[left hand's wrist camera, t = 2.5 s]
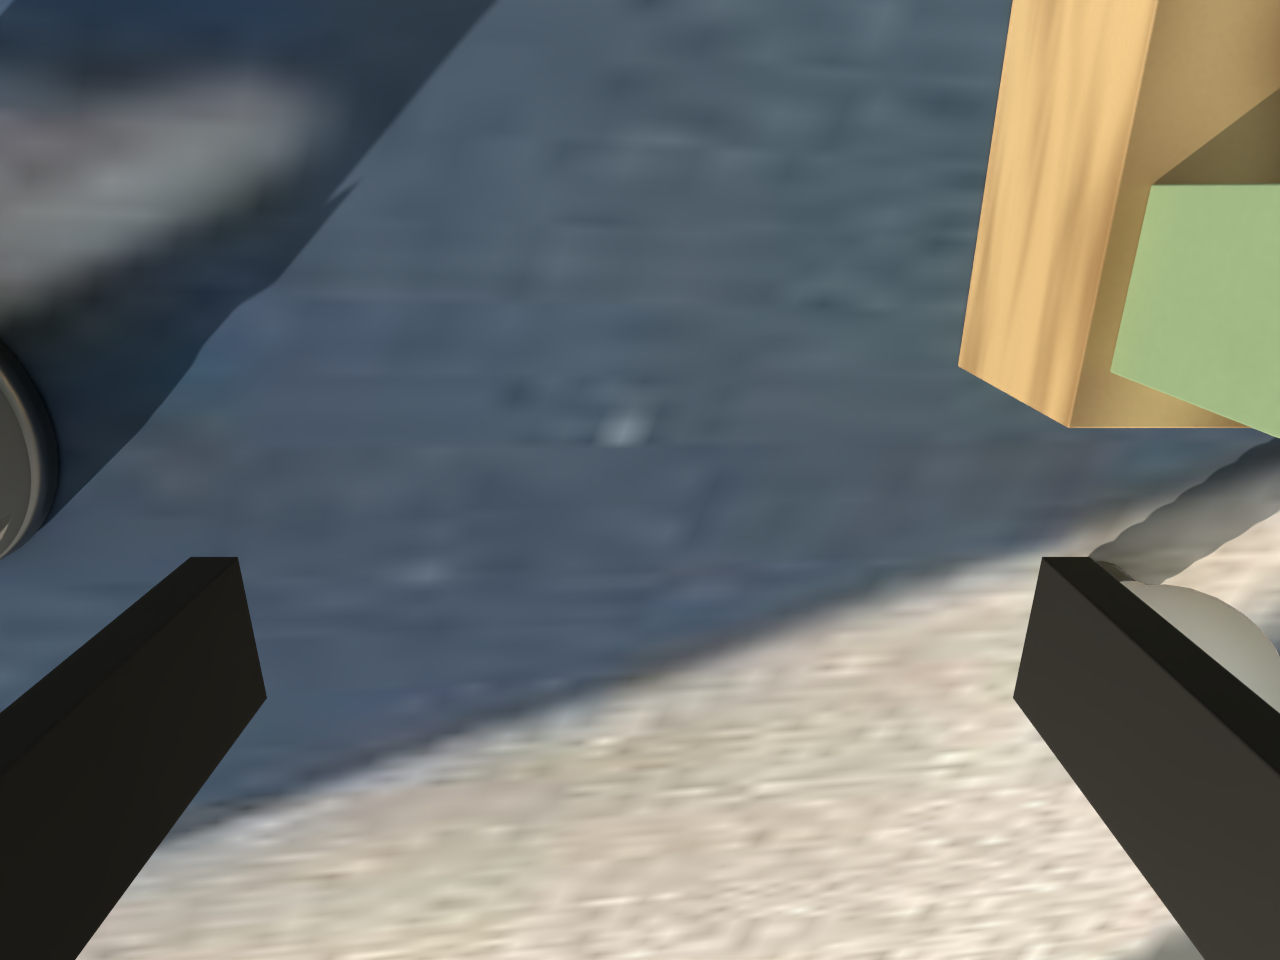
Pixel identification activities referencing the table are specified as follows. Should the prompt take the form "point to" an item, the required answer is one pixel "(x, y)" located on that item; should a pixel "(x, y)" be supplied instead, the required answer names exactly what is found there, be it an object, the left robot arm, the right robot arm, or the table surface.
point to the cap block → (1208, 300)
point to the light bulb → (1214, 632)
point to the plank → (1106, 184)
